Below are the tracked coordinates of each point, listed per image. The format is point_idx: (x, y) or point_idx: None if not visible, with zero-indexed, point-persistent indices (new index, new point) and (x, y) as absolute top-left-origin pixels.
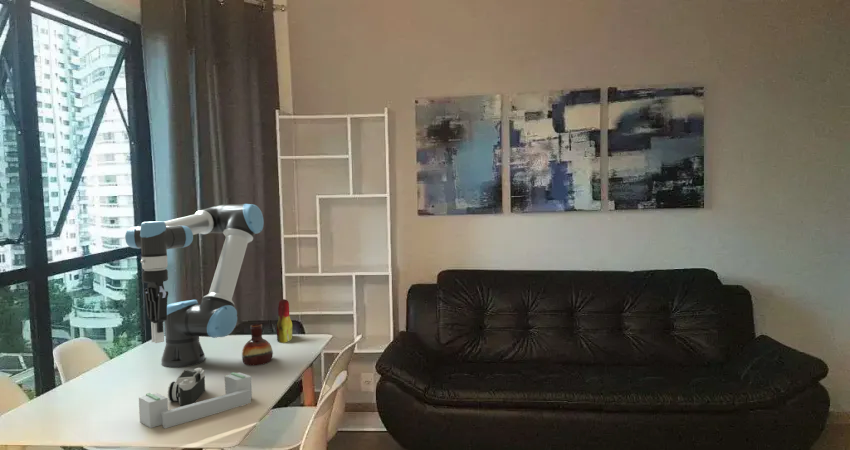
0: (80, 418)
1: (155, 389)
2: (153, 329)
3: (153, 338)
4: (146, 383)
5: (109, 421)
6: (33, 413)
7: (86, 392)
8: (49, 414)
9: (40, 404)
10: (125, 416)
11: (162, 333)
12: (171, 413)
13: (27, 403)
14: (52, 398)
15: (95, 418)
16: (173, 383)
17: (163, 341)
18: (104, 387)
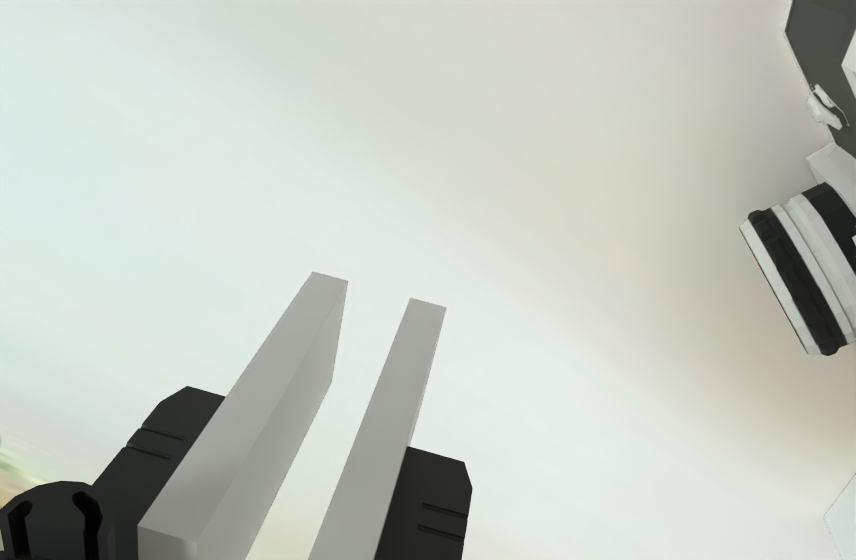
0: (471, 549)
1: (376, 100)
2: (262, 518)
3: (314, 408)
4: (170, 27)
5: (646, 543)
6: None
7: (73, 314)
8: (291, 549)
9: None
10: (666, 486)
11: (417, 410)
12: None
13: None
14: (53, 425)
15: (539, 535)
16: (835, 330)
17: (442, 316)
18: (45, 216)
